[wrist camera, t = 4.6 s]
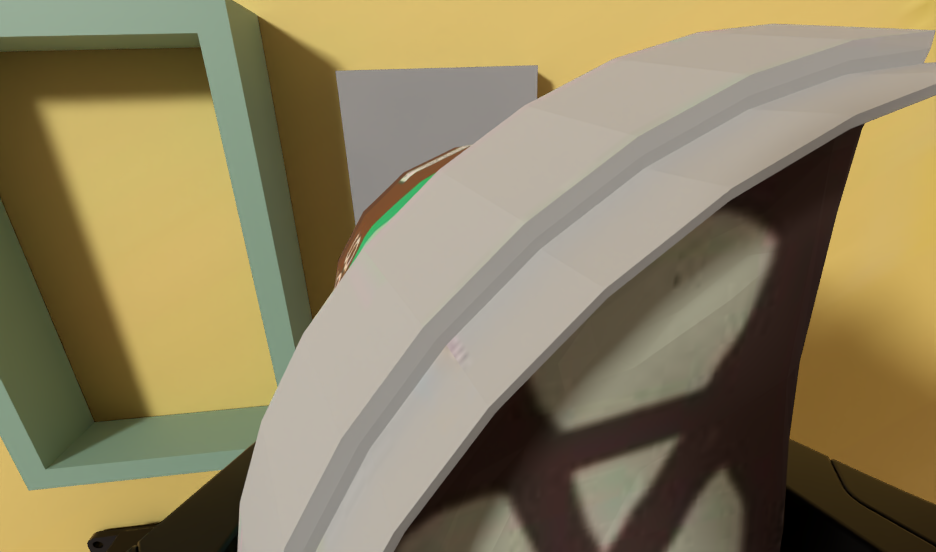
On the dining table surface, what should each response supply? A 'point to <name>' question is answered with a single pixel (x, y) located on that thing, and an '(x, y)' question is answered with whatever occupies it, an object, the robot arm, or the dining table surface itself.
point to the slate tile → (420, 117)
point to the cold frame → (263, 225)
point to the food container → (584, 312)
